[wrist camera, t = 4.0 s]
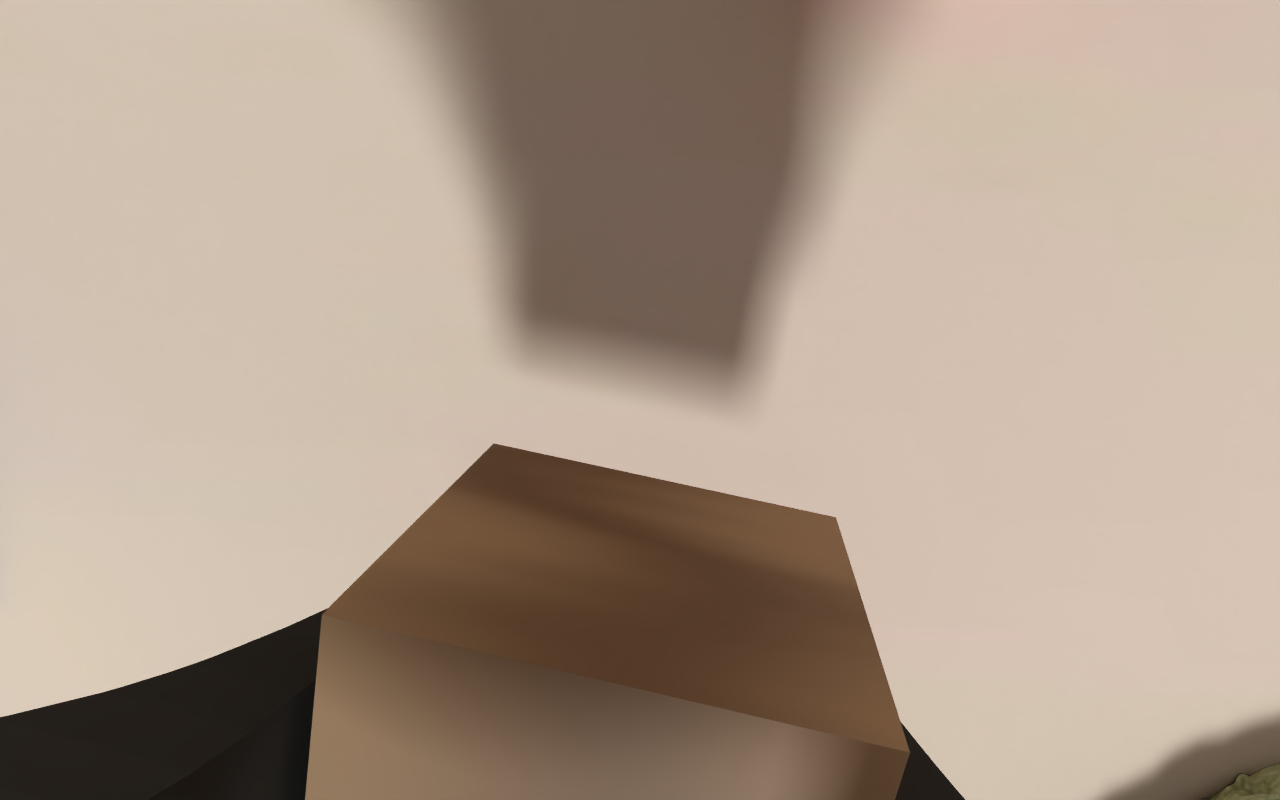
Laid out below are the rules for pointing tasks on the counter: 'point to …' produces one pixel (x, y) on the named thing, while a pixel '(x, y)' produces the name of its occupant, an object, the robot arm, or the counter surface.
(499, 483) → the walnut block
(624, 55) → the counter surface
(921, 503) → the counter surface
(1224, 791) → the washcloth
